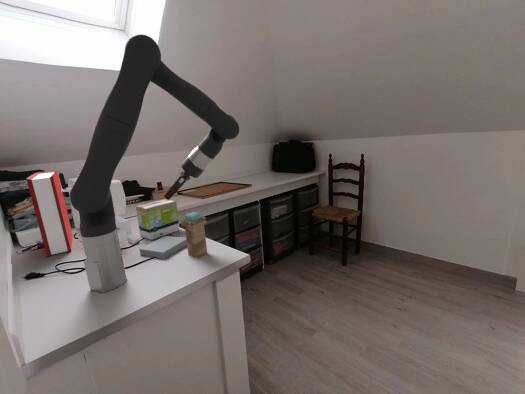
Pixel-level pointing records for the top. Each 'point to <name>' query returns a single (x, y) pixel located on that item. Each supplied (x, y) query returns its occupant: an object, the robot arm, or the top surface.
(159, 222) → the tea box
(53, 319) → the top surface
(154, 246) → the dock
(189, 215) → the teal block
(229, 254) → the top surface
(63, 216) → the book
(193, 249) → the wooden pedestal column
